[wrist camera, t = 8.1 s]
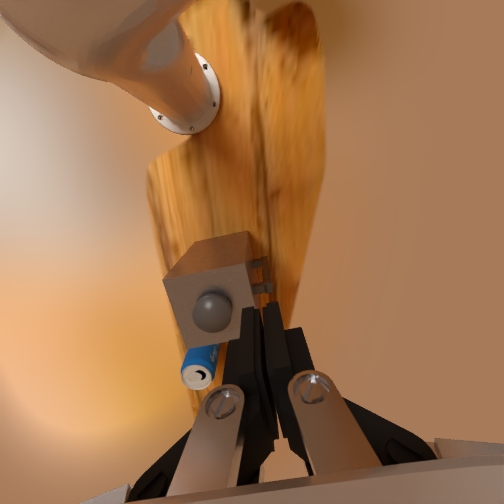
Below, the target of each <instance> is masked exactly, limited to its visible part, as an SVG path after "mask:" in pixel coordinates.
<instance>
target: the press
mask: <svg viewBox="0 0 504 504" xmlns="http://www.w3.org/2000/svg"><path fill="white" fill-rule="evenodd" d="M261 266H262V274H263V282H259V278H258V273H257V269H256V267H261ZM162 281H163V283H164V286H165V289H166V292H167V295H168V298H169V300H170V303H171V306H172V309H173V312H174V315H175V317H176V320H177V323H178V326H179V329H180V332H181V334H182V337H183V340H184V343H185V346H186V349H190V348H196V347H201V346H207V345H212V344H218V343H223V342H229V340H233V339H238V338H239V337H240V325H241V313H242V308H246V307H251V306H254V308H255V309H258V308H259V310H260V314H261V307H260V293H266V294H267V293H272V292H274V291H273V285H272V279H271V274H270V268H269V262H268V258H267V256H265V257H261V258H260V259H255V260H254V256H253V252H252V247H251V243H250V238H249V234H248V231H244V232H239V233H235V234H230V235H225V236H221V237H216V238H211V239H206V240H202V241H197V242H194V244H193V245H192V246H191V247H190V248H189V249H188V251H187V252H186V253H185V254H184V255H183V256H182V258H181V259H180V260H179V261H178V262H177V263H176V265H175V266H174V267H173V268H172V269H171V270H170V272H169V273H168V274H167V275H166V276H165V277H164V279H163V280H162ZM208 293H218V294H221V295H223V296H225V297H226V298H227V299H228V300H229V301H230V303H231V305H232V317H231V322H230V324H229V325H228V327H227V328H226V329H224V330H223V331H221V332H217V333H208V332H205V331H202V330H201V329H199V328H198V327H197V326H196V325H195V323H194V321H193V318H192V312H193V309H194V307H195V304H196V302H197V300H198V299H199V298H200V297H201V296H203V295H205V294H208Z"/></svg>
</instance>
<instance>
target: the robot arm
mask: <svg viewBox="0 0 504 504" xmlns="http://www.w3.org/2000/svg"><path fill="white" fill-rule="evenodd" d="M196 1H197V0H0V17H1V18H2V19H3V20H4V21H5V23H6V24H7V25H8V26H9V27H10V28H11V29H12V30H14V32H16V33H17V34H18V35H19V36H20V37H21V38H22V39H23V40H24V41H26V42H27V43H28V44H29V45H31V46H32V47H33V48H34V49H36V50H37V51H38V52H40V53H41V54H43V55H44V56H46V57H47V58H49V59H50V60H52V61H54V62H55V63H57V64H59V65H61V66H63V67H65V68H67V69H69V70H71V71H73V72H75V73H78V74H80V75H83V76H86V77H90V78H93V79H97V80H101V81H105V82H110V83H113V84H115V85H117V86H118V87H120V88H122V89H123V90H125V91H126V92H128V93H130V94H131V95H133V96H134V97H136V98H137V99H139V100H140V101H142V102H143V103H145V104H147V105H148V107H149V109H150V111H151V113H152V114H153V116H154V117H155V119H156V120H157V121H158V122H159V123H160V124H161V125H162V126H163V127H165V128H166V129H168V130H170V131H172V132H174V133H177V134H181V135H191V134H196V133H199V132H201V131H203V130H204V129H206V128H207V127H208V126H209V125H210V124H211V123H212V122H213V120H214V118H215V117H216V115H217V112H218V110H219V106H220V95H221V93H220V86H219V82H218V79H217V76H216V74H215V72H214V70H213V69H212V67H211V65H210V64H209V63H208V62H207V61H206V60H205V59H204V58H203V57H202V56H201V55H199V54H198V53H196V52H194V50H193V48H192V46H191V44H190V42H189V40H188V38H187V36H186V34H185V32H184V30H183V27H182V25H181V23H180V22H179V20H178V18H177V17H178V16H179V15H181V14H182V13H183V12H184V11H185V10H187V9H188V8H189V7H190V6H191V5H193V4H194V3H195V2H196ZM206 67H207V68H208V69H207V70H205V68H206ZM214 104H216V107H214V106H213V105H214ZM161 117H163V120H161ZM192 128H194V130H193V131H192V130H191V129H192ZM262 309H263V323H264V327H263V323H262V318H261V314H260V310H259V308H258V309H255V308H254V306H251V307H246V308H242V313H241V325H240V337H239V338H238V339H233V340H229V342H228V347H227V354H226V360H225V367H224V374H223V381H222V385H221V386H218V387H216V388H214V389H213V390H212V391H210V392H209V393H208V394H207V395H206V396H205V398H204V400H203V401H202V403H201V406H200V408H199V411H198V414H197V416H196V419H195V422H194V424H193V427H192V428H191V429H190V430H189V431H188V432H187V433H186V434H185V435H184V436H183V437H182V438H181V439H180V440H179V441H177V442H176V443H175V444H174V445H173V446H172V447H171V448H170V449H169V450H168V451H167V452H166V453H165V454H164V455H163V456H162V457H161V458H159V459H158V460H157V461H156V462H155V463H154V464H153V465H152V466H151V467H150V468H149V469H148V470H147V471H146V472H145V473H144V474H143V475H142V476H141V477H140V478H139V479H138V481H136V483H135V485H134V486H132V487H130V485H129V484H128V483H127V484H125V485H123V486H120V487H118V488H115V489H113V490H110V491H108V492H105V493H103V494H101V495H98V496H96V497H93V498H91V499H88V500H86V501H83V502H81V503H79V504H504V444H499V443H488V442H476V441H464V440H451V439H440V438H435V443H433V442H424V441H423V440H422V439H421V438H419V437H418V436H416V435H415V434H413V433H411V432H409V431H407V430H406V429H404V428H402V427H400V426H398V425H396V424H394V423H392V422H390V421H388V420H386V419H384V418H382V417H380V416H378V415H376V414H374V413H372V412H371V411H368V410H367V409H365V408H363V407H361V406H359V405H357V404H355V403H353V402H351V401H349V400H347V399H345V398H343V397H342V396H341V395H340V393H339V391H338V389H337V388H336V386H335V384H334V383H333V381H332V380H331V379H330V378H329V377H328V376H327V375H326V374H324V373H322V372H319V371H315V369H314V365H313V362H312V360H311V356H310V353H309V349H308V346H307V343H306V340H305V337H304V334H303V330H302V328H301V327H298V328H293V329H287V330H284V327H283V323H282V318H281V313H280V308H279V303H278V301H277V302H272V303H267V307H263V308H262ZM276 410H277V412H276ZM277 414H278V418H279V422H280V426H281V430H282V434H283V438H288V442H289V446H290V449H291V450H292V451H293V452H294V453H295V454H297V455H298V456H299V457H300V458H302V459H303V461H304V465H305V469H306V472H307V475H308V476H307V477H301V478H293V479H286V480H279V481H272V482H265V483H264V472H265V470H264V461H265V459H266V458H267V457H268V455H269V454H270V453H271V452H273V451H275V450H274V440H275V439H279V432H278V423H277Z"/></svg>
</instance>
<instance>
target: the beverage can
mask: <svg viewBox="0 0 504 504" xmlns="http://www.w3.org/2000/svg"><path fill="white" fill-rule="evenodd" d="M220 345H221V343H218V344H212V345H207V346H201V347H196V348H190V349H188V351H187V354H186V356H185V359H184V362H183V365H182V367H181V380H182V382H183V384H184V385H185V386H187V387H188V388H190V389H194V390H201V389H204V388H206V387H207V386H209V384H210V383H211V381H212V380H213V379H214V376H215V371H216V366H217V360H218V355H219V350H220Z"/></svg>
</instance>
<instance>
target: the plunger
mask: <svg viewBox="0 0 504 504" xmlns="http://www.w3.org/2000/svg"><path fill="white" fill-rule="evenodd" d="M231 317H232V305H231V303H230V301H229V300H228V299H227V298H226V297H225V296H223V295H221V294H218V293H208V294H205V295H203V296H201V297H200V298H199V299H198V300H197V302H196V304H195V307H194V309H193V312H192V318H193V321H194V323H195V325H196V326H197V327H198V328H199V329H201V330H202V331H205V332H208V333H217V332H221V331H223V330H224V329H226V328H227V327H228V325H229V324H230V322H231Z"/></svg>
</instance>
